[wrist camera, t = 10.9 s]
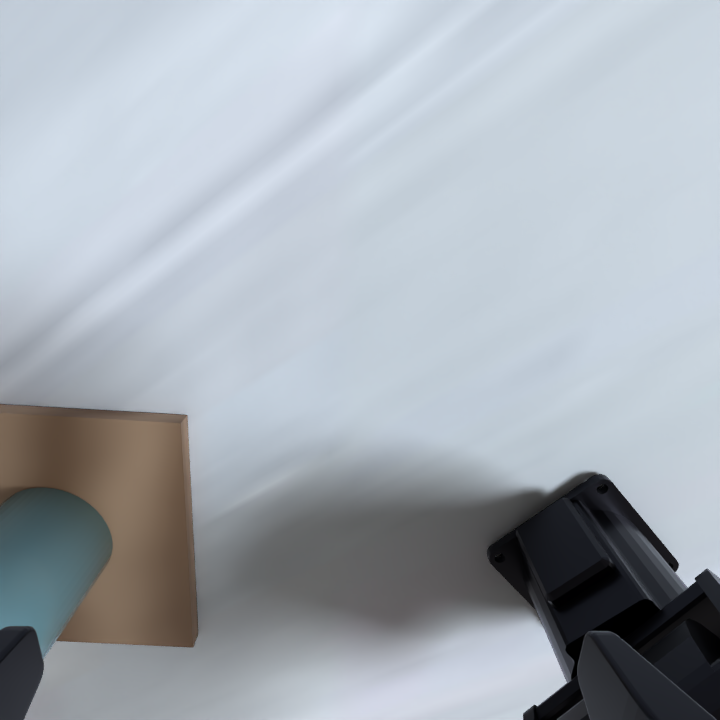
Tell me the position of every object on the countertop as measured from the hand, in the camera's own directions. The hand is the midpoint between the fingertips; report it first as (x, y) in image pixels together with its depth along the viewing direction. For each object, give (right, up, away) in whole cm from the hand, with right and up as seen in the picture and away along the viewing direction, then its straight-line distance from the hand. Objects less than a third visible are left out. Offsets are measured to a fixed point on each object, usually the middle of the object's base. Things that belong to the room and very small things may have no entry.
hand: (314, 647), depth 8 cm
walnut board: (-13, -3, +15) cm, 20 cm away
